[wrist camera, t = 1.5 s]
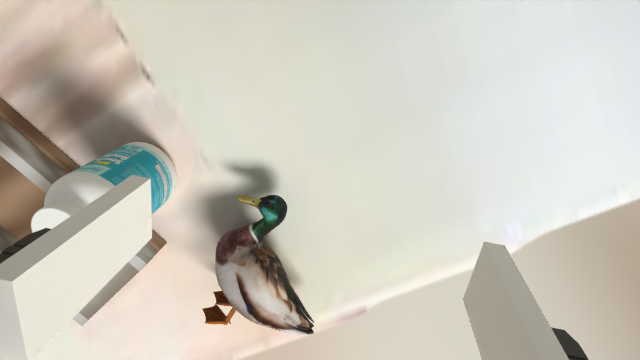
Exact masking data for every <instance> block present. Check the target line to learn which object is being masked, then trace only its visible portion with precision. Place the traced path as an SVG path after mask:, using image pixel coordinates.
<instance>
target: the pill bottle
mask: <svg viewBox="0 0 640 360" xmlns="http://www.w3.org/2000/svg"><path fill="white" fill-rule="evenodd" d="M131 175H135V176H140V177H146V178H151V210H152V214H153V213H154V212H155V211H156V210H157V209H158V208H160V207H161V206H162V205H163V204H164V203H165V202H166V201H167V200H168V199H169V198H170V197H171V196H172V195H173V193H174V191H175V188H176V184H177V174H176V170H175V168H174V165H173V163H172V162H171V160H170V159H169V157H168V156H167V155H166V154H165V153H164V152H163V151H162V150H160V149H159V148H157V147H156V146H154V145H151V144H149V143H145V142H131V143H127V144H125V145H123V146H121V147H119V148H117V149H115V150H113V151H111V152H109V153H107V154H105V155H103V156H101V157H99V158H97V159H96V160H94V161H92V162H90V163H88V164H86V165H84V166H82V167H80V168H78V169H76V170H74V171H72V172H70V173H68V174H67V175H65V176H63V177H61V178H60V179H58V180H57V181H55V182H54V183H53V184H52V185H51V187H50V188H49V190H48V191H47V194H46V197H45V201H44V207H43V208H41V209H40V210H38V211H37V212H36V213H35V214H34V215H33V217H32V221H31V229H32V233H34V232H36V231H39V230H42V229H44V228H49V229H53V228H54V227H56V226H57V225H59V224H60V223H61V222H63V221H64V220H66V219H67V218H69V217H70V216H72V215H73V214H75V213H76V212H78V211H79V210H81V209H82V208H84V207H85V206H87V205H88V204H90V203H91V202H93V201H94V200H96V199H97V198H99V197H100V196H102V195H103V194H105V193H106V192H108V191H109V190H111V189H112V188H114V187H115V186H116V185H118V184H119V183H121V182H122V181H124V180H125V179H127V178H128V177H130V176H131Z"/></svg>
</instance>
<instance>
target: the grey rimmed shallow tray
mask: <svg viewBox="0 0 640 360" xmlns="http://www.w3.org/2000/svg"><path fill="white" fill-rule="evenodd" d="M78 168H80V167H79V166H78V165H77V164H76V163H75V162H74V161H72V160H71V159H70V158H69V157H68V156H67V155H66V154H64V153H63V152H62V151H61V150H60V149H59V148H57V147H56V146H55V145H54V144H53V143H52V142H51V141H49V140H48V139H47V138H46V137H45V136H44V135H43V134H41V133H40V132H39V131H38V130H37V129H36V128H34V127H33V126H32V125H31V124H30V123H29V122H28V121H26V120H25V119H24V118H23V117H22V116H21V115H19V114H18V113H17V112H16V111H15V110H14V109H13V108H11V107H10V106H9V105H8V104H7V103H6V102H5V101H3V100H2V99H1V98H0V254H1V253H2V251H3V250H5V249H6V248H8V247H9V246H13V244H14V243H15V242H17V241H19V240H20V239H22V238H23V237H25V236H26V235H28V234H31V233H32V229H31V221H32V217H33V215H34V214H35V213H36V212H37V211H38V210H40V209H41V208H43V207H44V201H45V197H46V194H47V191H48V190H49V188H50V187H51V185H52V184H53V183H54V182H55V181H57V180H58V179H60V178H61V177H63V176H65V175H67V174H68V173H70V172H72V171H74V170H76V169H78ZM166 243H167V242H166V241H165V240H163V239H162V238H161V237H160V236H159V235H158V234H157V233H155V232H154V231H153V230H152V238H151V239H150V240H149V241H148V242H147V243H146V244H145V245H144V246H143V247H142V249H141V250H140V251H139V252H138V253H137V254H136V255H135V256H134V257H133V258H132V259H131V260H130V261H129V262H128V263H127V264H126V265H125V266H124V267H123V268H122V269H121V270H120V271H119V272H118V273H117V274H116V275H115V276H114V277H113V278H112V279H111V280H110V281H109V282H108V283H107V284H106V285H105V286H104V287H103V288H102V289H101V290H100V291H99V292H98V293H97V294H96V295H95V296H94V297H93V298H92V299H91V300H90V301H89V302H88V303H87V304H86V305H85V307H84V308H83V309H82V310H81V311H80V312H79V313H78V314H77V315H76V316H75V317H74V318H73V319H74V320H75V321H76V322H77V323H79V324H80V325H81V326H83V325H84V324H85V323H86V322H87V321H88V320H89V319H90V318H91V317H92V316H93V315H94V314H95V313H96V312H97V311H98V310H99V309H100V308H101V307H102V306H103V305H105V304H106V303H107V302H108V301H109V300H110V299H111V298H112V297H113V296H114V295H115V294H116V293H117V292H118V291H119V290H120V289H121V288H122V287H123V286H124V285H126V284H127V283H128V282H129V281H130V280H131V279H132V278H133V277H134V276H135V275H136V274H137V273H138V272H139V271H140V270H141V269H142V268H143V267H144V266H145V265H146V264H147V263H148V262H149V261H150V260H151V259H152V258H153V257H154V256H155V255H156V253H157V252H158V251H159V250H160V249H161V248H162V247H163V246H164V245H165V244H166Z"/></svg>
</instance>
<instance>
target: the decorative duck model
mask: <svg viewBox="0 0 640 360" xmlns="http://www.w3.org/2000/svg"><path fill="white" fill-rule="evenodd" d="M237 200H238V201H241V202H243V203H246V204H250V205H253V206H255V207H256V208H258V209H259V211H260V212H261V214H262V215H263V217H264V218H263V219H261V220H260V221H258V222H255V223H253V224H250V225H247V226H244V227H241V228H237V229H235V230H232V231H230V232H228V233H226V234H225V235H224V236H223V237H222V238H221V239H220V241H219V242H218V245H217V248H216V276H217V280H218V283H219V286H220V288H221V289H222V291H218V292H214V294H215V297H216V304H218V305H224V306H232V307H233V308H232V309H231V311H230V313H229V314H228V316H227V317H226V316H225V314H224V313H223V312H222V311H221V309H220V308H219V307H218V306H217V305H216V304H215V306H213V307H210V308H204V309H203V311H204V313H205V316H206V322H204V323H208V324H224V325H227V324H228V322H229V323H230V319H231V317H232V316H233V314H234V313H235V311H236V310H237V311H238V312H239V313H240V314H241V315H243V316H244V317H245V318H247V319H248V320H250V321H252V322H254V323H256V324H259V325H263V326H266V327H269V328H272V329H276V330H279V331H284V332H289V333H293V334H313V333H314V332H313V330H312V329H311V328H312V327H313V326H314V325H313V324H312V323H311V322H310V321H309V320H308V318H309V319H310V320H311V321H312V322H314V321H313V320H312V318H311V317H310V315H309V314H308V312H307V311H306V309H305V308H304V306H303V304H302V303H301V301H300V299H299V297H298V296H297V294H296V293H295V291H294V289H293V288H292V286H291V285H290V283H289V281H288V278H287V275H286V273H285V271H284V268H283V266H282V264H281V262H280V260H279V258H278V257H277V255H276V254H275V253H274V252H273V251H272V250H271V249H270V248H269V247H268V246H266V245H265V244H263V243H262V242H261V241H262V239H263V237H264V236H265V235H266V234H267V233H269V232H270V231H271V230H273V229H274V228H275V227H277V226H278V225H279V224H280V223H281V222H282V221H283V220H284V218H285V216H286V213H287V205H286V202H285V201H284V200H283V199H282V198H281V197H279V196H276V195H269V196H266V197H262V198H252V197H247V196H238V198H237ZM298 305H299V306H298ZM300 308H301V309H302V310H301V309H300ZM302 311H303V312H304V313H303V312H302ZM304 314H305V315H306V316H307V317H308V318H307V317H306V316H305V315H304ZM230 324H231V323H230Z"/></svg>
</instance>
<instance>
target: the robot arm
mask: <svg viewBox="0 0 640 360" xmlns="http://www.w3.org/2000/svg"><path fill="white" fill-rule="evenodd" d="M151 238H152V210H151V178H146V177H140V176H135V175H131V176H130V177H128V178H127V179H125V180H124V181H122V182H121V183H119V184H118V185H116V186H115V187H114V188H112V189H111V190H109V191H108V192H106V193H105V194H103V195H102V196H100V197H99V198H97V199H96V200H94V201H93V202H91V203H90V204H88V205H87V206H85V207H84V208H82V209H81V210H79V211H78V212H76V213H75V214H73V215H72V216H70V217H69V218H67V219H66V220H64V221H63V222H61V223H60V224H59V225H57V226H56V227H54V228H53V229H49V228H44V229H42V230H39V231H36V232H34V233H31V234H28V235H26V236H25V237H23V238H22V239H20V240H19V241H17V242H15V243H14V244H13V246H9V247H8V248H6V249H5V250H3V251H2V253H1V254H0V353H1V357H2V358H4V359H9V360H32V359H33V358H34V357H35V356H36V355H37V354H38V353H39V352H40V351H41V350H42V349H43V348H44V347H45V346H46V345H47V344H48V343H49V342H50V341H51V340H52V339H53V338H54V337H55V336H56V335H57V334H58V333H59V332H60V331H61V330H62V329H63V328H64V327H65V326H66V325H67V324H68V323H69V322H70V321H71V320H72V319H73V318H74V317H75V316H76V315H77V314H78V313H79V312H80V311H81V310H82V309H83V308H84V307H85V305H86V304H87V303H88V302H89V301H90V300H91V299H92V298H93V297H94V296H95V295H96V294H97V293H98V292H99V291H100V290H101V289H102V288H103V287H104V286H105V285H106V284H107V283H108V282H109V281H110V280H111V279H112V278H113V277H114V276H115V275H116V274H117V273H118V272H119V271H120V270H121V269H122V268H123V267H124V266H125V265H126V264H127V263H128V262H129V261H130V260H131V259H132V258H133V257H134V256H135V255H136V254H137V253H138V252H139V251H140V250H141V249H142V247H143V246H144V245H145V244H146V243H147V242H148V241H149V240H150V239H151ZM463 300H464V304H465V307H466V310H467V313H468V316H469V319H470V323H471V326H472V329H473V332H474V335H475V339H476V342H477V345H478V348H479V351H480V354H481V357H482V360H588V358H587V356H586V355H585V353H584V351H583V350H582V348H581V347H580V345H579V344H578V343H577V342H576V341H575V340H574V339H573V338H572V337H571V336H570V335H569V334H568V333H567V332H566V331H564V330H561V329H556V328H551V327H550V325H549V323H548V321H547V320H546V318H545V316H544V314H543V313H542V311H541V309H540V307H539V306H538V304H537V302H536V300H535V298H534V297H533V295H532V293H531V292H530V290H529V288H528V286H527V284H526V283H525V281H524V279H523V277H522V276H521V274H520V272H519V270H518V268H517V267H516V265H515V263H514V261H513V260H512V258H511V256H510V254H509V252H508V251H507V249H506V247H505V246H504V245H499V244H494V243H488V242H484V244H483V246H482V249H481V252H480V254H479V257H478V260H477V263H476V265H475V268H474V271H473V274H472V277H471V279H470V282H469V285H468V287H467V290H466V293H465V295H464V298H463Z"/></svg>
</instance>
